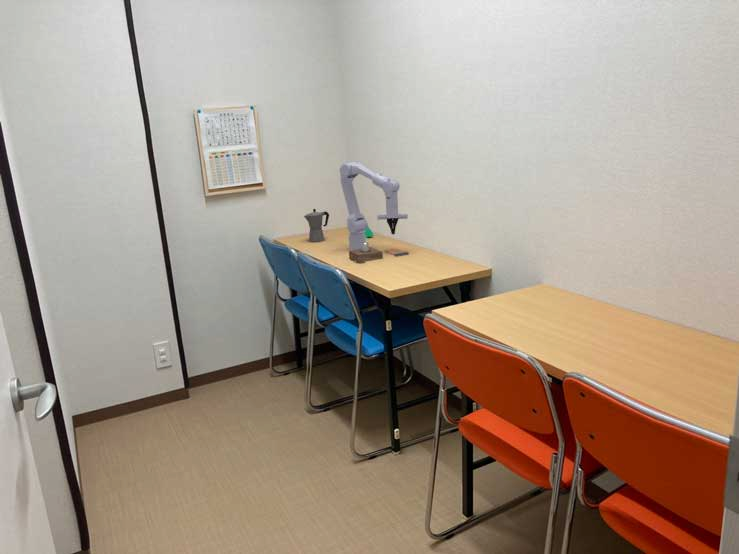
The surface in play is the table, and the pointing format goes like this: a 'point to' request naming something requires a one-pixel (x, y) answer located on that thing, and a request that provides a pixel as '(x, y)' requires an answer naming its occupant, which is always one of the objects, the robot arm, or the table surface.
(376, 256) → the hitch block
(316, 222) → the coffeepot
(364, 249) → the steel peg
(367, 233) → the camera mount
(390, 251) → the latch flap
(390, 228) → the robot arm
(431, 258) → the table surface
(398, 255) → the latch bracket
